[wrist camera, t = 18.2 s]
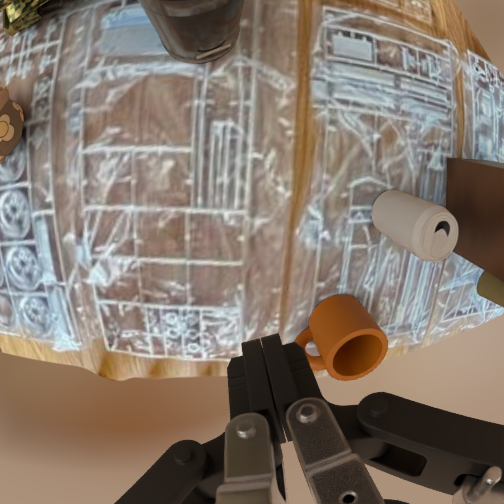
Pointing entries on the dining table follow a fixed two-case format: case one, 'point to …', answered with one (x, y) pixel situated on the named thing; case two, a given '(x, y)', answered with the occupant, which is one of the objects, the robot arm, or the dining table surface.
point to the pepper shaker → (491, 288)
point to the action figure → (9, 123)
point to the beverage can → (416, 225)
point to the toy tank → (20, 14)
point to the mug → (344, 338)
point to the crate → (478, 211)
